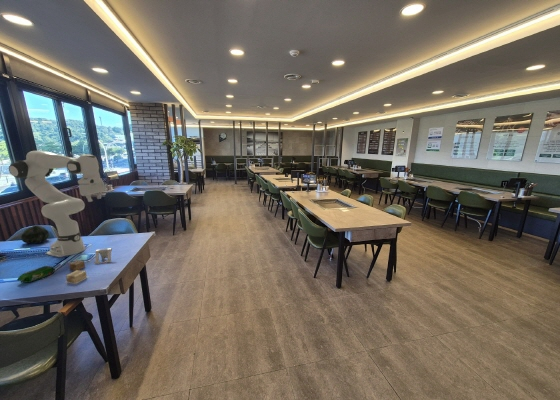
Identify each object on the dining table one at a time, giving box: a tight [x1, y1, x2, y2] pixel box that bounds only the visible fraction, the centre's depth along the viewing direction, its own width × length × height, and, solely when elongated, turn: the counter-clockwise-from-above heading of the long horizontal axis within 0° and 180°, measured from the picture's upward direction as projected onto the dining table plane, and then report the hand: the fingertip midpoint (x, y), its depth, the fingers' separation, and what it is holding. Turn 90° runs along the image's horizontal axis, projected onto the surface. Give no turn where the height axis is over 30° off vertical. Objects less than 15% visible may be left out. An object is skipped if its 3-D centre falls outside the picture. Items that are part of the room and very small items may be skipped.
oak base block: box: [65, 270, 88, 284], centre depth 129 cm, size 6×6×4 cm
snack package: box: [16, 265, 56, 283], centre depth 131 cm, size 7×16×5 cm, turn 161°
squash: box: [20, 225, 50, 244], centre depth 180 cm, size 14×15×15 cm
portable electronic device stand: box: [93, 248, 113, 265], centre depth 152 cm, size 9×8×8 cm
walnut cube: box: [68, 260, 86, 272], centre depth 141 cm, size 5×5×5 cm
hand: (95, 200), depth 150 cm, fingers open, 8 cm apart
